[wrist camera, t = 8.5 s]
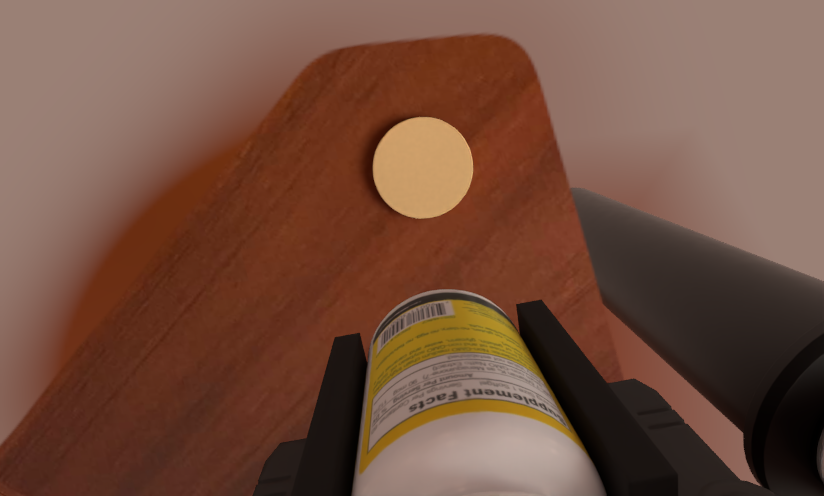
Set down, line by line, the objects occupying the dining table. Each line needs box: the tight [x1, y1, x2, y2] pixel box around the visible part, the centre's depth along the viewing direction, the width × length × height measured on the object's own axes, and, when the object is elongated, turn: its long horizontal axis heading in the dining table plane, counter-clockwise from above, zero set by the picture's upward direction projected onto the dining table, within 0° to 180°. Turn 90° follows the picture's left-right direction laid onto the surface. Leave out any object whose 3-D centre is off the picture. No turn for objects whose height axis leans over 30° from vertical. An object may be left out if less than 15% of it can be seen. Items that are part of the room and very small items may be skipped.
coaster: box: [373, 117, 473, 218], centre depth 28 cm, size 6×6×1 cm
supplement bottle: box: [351, 289, 607, 496], centre depth 9 cm, size 5×5×8 cm
